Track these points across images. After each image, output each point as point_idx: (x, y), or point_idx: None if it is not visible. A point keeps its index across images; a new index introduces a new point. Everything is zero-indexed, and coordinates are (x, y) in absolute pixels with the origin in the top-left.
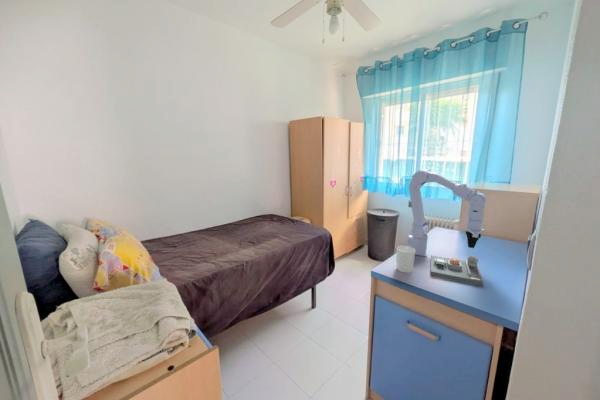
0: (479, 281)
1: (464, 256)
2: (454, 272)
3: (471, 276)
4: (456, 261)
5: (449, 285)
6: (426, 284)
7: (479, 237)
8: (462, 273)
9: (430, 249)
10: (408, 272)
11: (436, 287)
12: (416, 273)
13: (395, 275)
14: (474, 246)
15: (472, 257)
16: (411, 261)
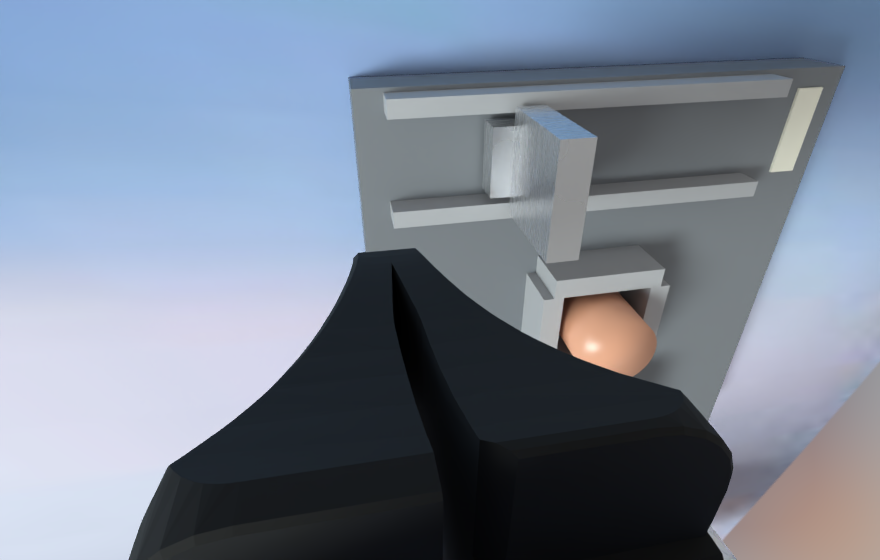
0: (826, 95)
1: (27, 188)
2: (695, 292)
3: (748, 163)
4: (655, 338)
5: (807, 287)
6: (805, 391)
7: (667, 397)
8: (702, 235)
9: (116, 484)
10: None
11: (836, 346)
12: None
13: (722, 513)
14: (427, 261)
15: (582, 211)
16: (733, 556)
